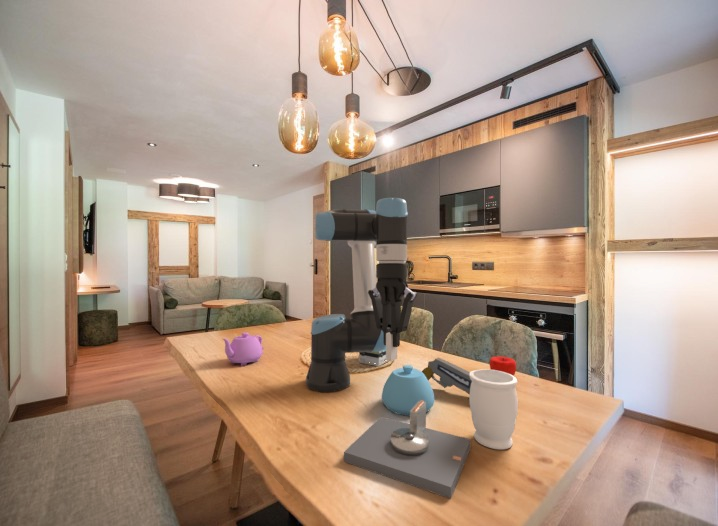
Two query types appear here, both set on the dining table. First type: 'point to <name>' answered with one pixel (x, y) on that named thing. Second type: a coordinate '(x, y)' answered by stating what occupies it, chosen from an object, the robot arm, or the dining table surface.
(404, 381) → the sugar bowl
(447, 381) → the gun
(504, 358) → the apple
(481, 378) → the jar
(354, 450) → the board
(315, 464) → the dining table surface
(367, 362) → the tea box
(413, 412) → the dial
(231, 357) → the teapot
